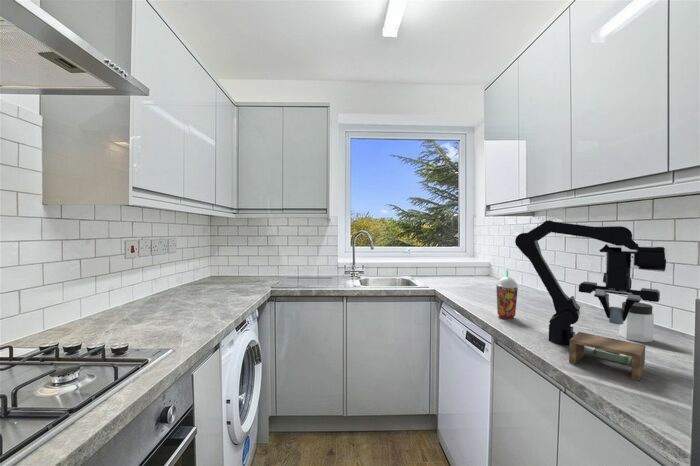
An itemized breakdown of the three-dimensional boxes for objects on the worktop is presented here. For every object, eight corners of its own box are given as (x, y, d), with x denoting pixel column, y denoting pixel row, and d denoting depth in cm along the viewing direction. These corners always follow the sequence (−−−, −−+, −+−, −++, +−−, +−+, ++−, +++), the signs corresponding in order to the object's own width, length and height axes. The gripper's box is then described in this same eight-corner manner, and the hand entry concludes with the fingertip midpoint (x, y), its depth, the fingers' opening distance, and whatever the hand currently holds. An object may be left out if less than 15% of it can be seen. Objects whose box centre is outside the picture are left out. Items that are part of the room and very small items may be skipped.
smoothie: (492, 314, 147) (494, 268, 146) (513, 315, 145) (514, 269, 145) (498, 319, 138) (499, 271, 138) (520, 320, 137) (521, 272, 137)
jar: (653, 338, 118) (654, 304, 117) (652, 344, 112) (654, 308, 111) (620, 332, 124) (621, 300, 123) (618, 338, 118) (619, 303, 117)
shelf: (568, 365, 94) (569, 339, 94) (578, 355, 101) (579, 331, 101) (639, 384, 83) (640, 355, 83) (644, 372, 90) (645, 345, 90)
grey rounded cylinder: (608, 322, 102) (608, 307, 102) (610, 320, 104) (610, 306, 104) (622, 325, 99) (623, 310, 99) (624, 322, 102) (624, 308, 102)
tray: (593, 358, 99) (593, 349, 99) (601, 348, 108) (602, 340, 107) (628, 367, 93) (628, 357, 93) (634, 355, 102) (634, 347, 102)
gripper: (662, 268, 100) (660, 320, 101) (586, 262, 114) (585, 308, 114) (659, 272, 92) (657, 328, 93) (579, 265, 106) (577, 314, 106)
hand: (616, 319), depth 102 cm, fingers closed on grey rounded cylinder, 3 cm apart
